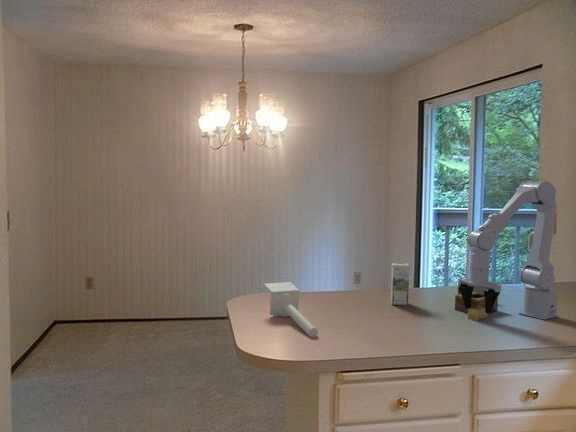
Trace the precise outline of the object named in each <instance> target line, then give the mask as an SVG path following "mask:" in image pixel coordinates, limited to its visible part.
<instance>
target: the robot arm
mask: <svg viewBox="0 0 576 432" xmlns="http://www.w3.org/2000/svg"><path fill="white" fill-rule="evenodd" d="M556 194H557V188H556V187H555V186H554V185H553V183H551V182H550V181H548V180H545V181H544V180H543V181H534V180H533V181H531V180H525V181H524V182H522V183H521V184H520V185H519V186H518V187H517V188H516V190H515V193H514V194H513V196H512V197H511V198H510V199H509V200H508V202H507V203H506V204H505V205H504V206H503V208H502V209H501V210H500V211H499V212H494V213H492V214H489V215H488V216H487V220H485V221H484V222H483V223H482V225H480V226H479V227H478V229H476V230H473V231H471V233H469V236H468V238H467V239H466V241H467V244H468V246H469V249H470V261H469V262H470V267H469V270H470V271H469V278H463V277H459V278H458V279H457V285H458V286H459V285H461V286H459V287H457V290H458V289H459V291H460V292H461V295H462V297H463V301H464V305H465V308H471V298H472V292H473V289H474V287H476V288H482V289H487V291H484V296H485V312H486V313H488V314H491V313H492V312H491V311H492V308H493V305H494V303H495V300H496V299H497V297H498V298H499V295H500V294H501V292H502V285H501V284H496V283H493V282H490V261H491V260H490V259H491V258H490V257H491V248H492V247H494V246H495V244H496V243H495V241H496V239H497V237H498V236H499V235H500V234H501V233H502V232H503V231H504V230H505V228H507V227H508V225H509V224H508V223H509V222H508V220H509V219H510V218H511V217H512V216H513V215H515V214H516V213H517V212H518V211H519V210H520V209H521V208H522V207H523V206H524V205H525V204H531V205H532V206H533V207H534V209H535V210H536V211H537V212H536V219H535V223H534V224H535V226H534V230H533V231H534V232H533V237H532V243H531V251H530V257H529V258H528V259H527V260H526V261H525V262H524V266H523V268H522V270H521V271H520V273H519V277H520V278H519V279H520V280H521V282H522V283H523V287H524V295H523V296H524V297H523V299H524V300H523V310H522V311H517V314H519V315H522V316H527V317H531V318H535V319H540V320H548V319H553V318H557V317H558V314H557V311H558V309H557V307H558V295H557V293H556V292H555V291H553V290H551V288H552V287H553V286H554V284H555V280H556V279H555V274H554V273H555V272H554V270H555V267H554V265H552V263H551V262H550V261H549V260H550V253H551V248H552V247H551V246H552V241H553V235H554V227H555V222H556V221H555V220H556V215H557V208H558V206H557V202H556V196H557V195H556ZM481 286H482V287H481ZM486 287H487V288H486Z"/></svg>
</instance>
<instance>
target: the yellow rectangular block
mask: <svg viewBox="0 0 576 432" xmlns="http://www.w3.org/2000/svg"><path fill="white" fill-rule="evenodd" d="M488 316H489V313H486V312H485V308H484V307H479V306H477V307H474V308H470V309H468V313H467V320H470V319H471V321H475V320H476V321H475V322H479V321H483V320H486V318H487V319H488V318H489V317H488Z"/></svg>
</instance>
